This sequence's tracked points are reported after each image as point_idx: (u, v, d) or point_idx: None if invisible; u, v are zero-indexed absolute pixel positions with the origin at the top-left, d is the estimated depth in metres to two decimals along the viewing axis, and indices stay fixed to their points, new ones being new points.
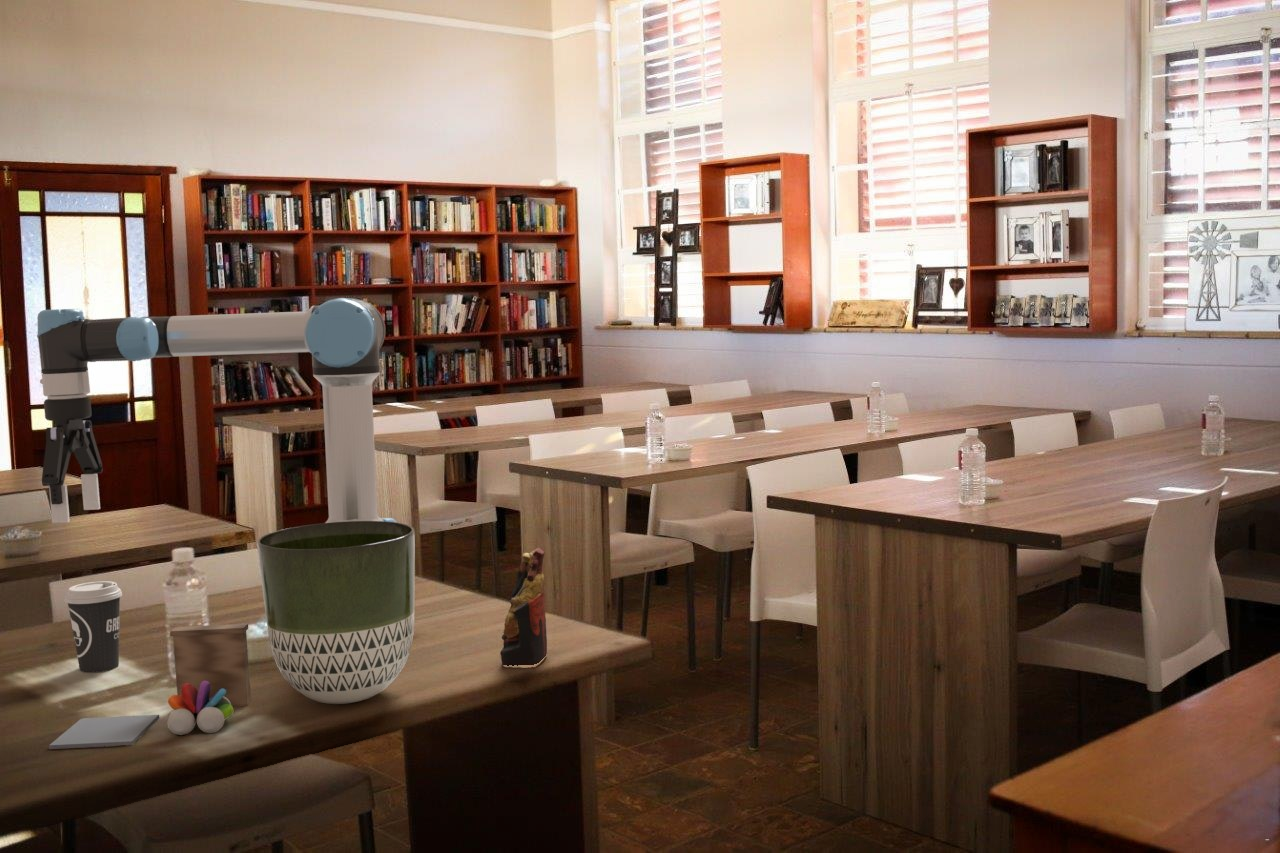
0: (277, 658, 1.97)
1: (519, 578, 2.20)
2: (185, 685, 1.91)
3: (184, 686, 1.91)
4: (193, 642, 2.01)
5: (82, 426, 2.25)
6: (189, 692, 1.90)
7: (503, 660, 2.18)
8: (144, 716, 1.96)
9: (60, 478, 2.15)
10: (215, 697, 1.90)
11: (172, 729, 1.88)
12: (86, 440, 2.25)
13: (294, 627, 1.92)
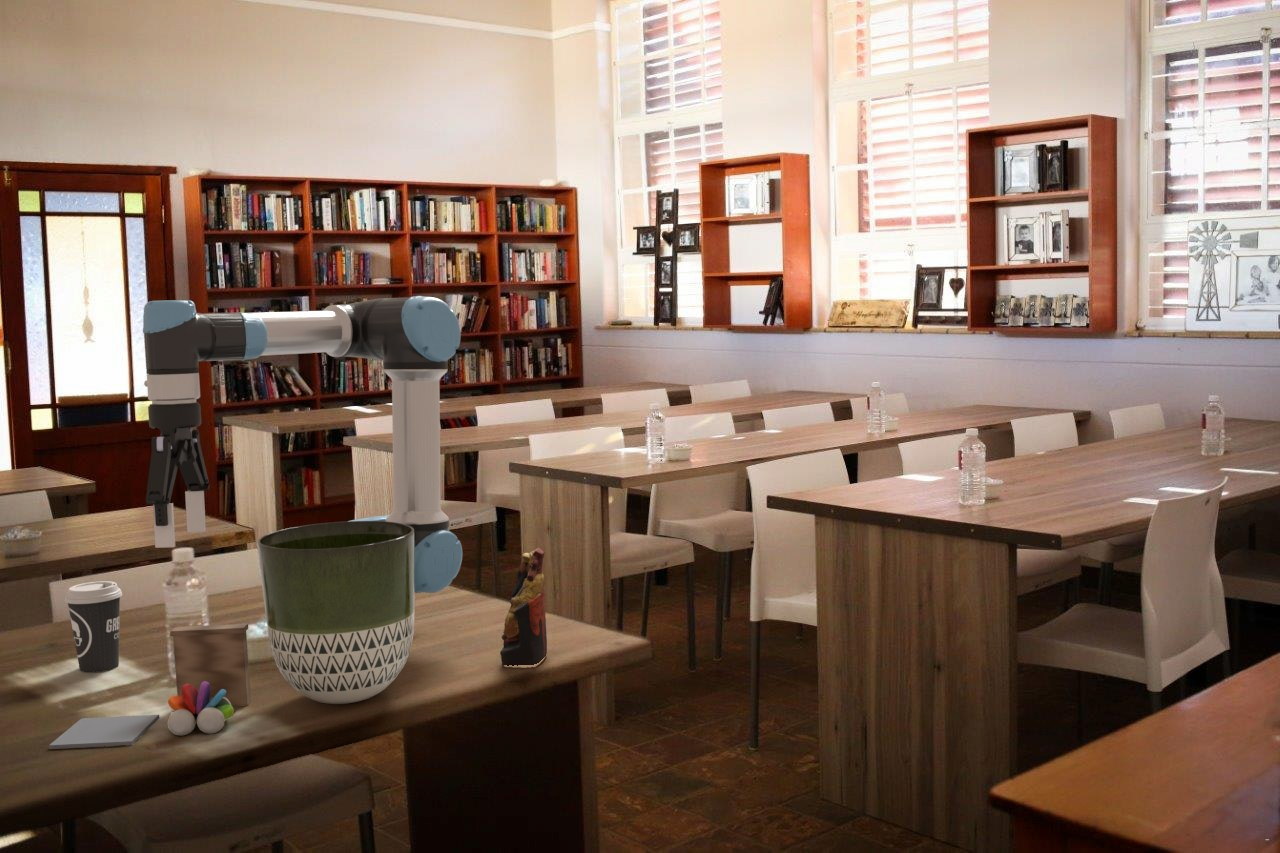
0: (277, 658, 1.97)
1: (519, 578, 2.20)
2: (185, 686, 1.91)
3: (184, 687, 1.90)
4: (193, 642, 2.01)
5: (189, 436, 1.95)
6: (189, 693, 1.90)
7: (503, 660, 2.18)
8: (144, 716, 1.96)
9: (166, 496, 1.85)
10: (215, 698, 1.90)
11: (172, 730, 1.88)
12: (194, 452, 1.95)
13: (294, 627, 1.92)
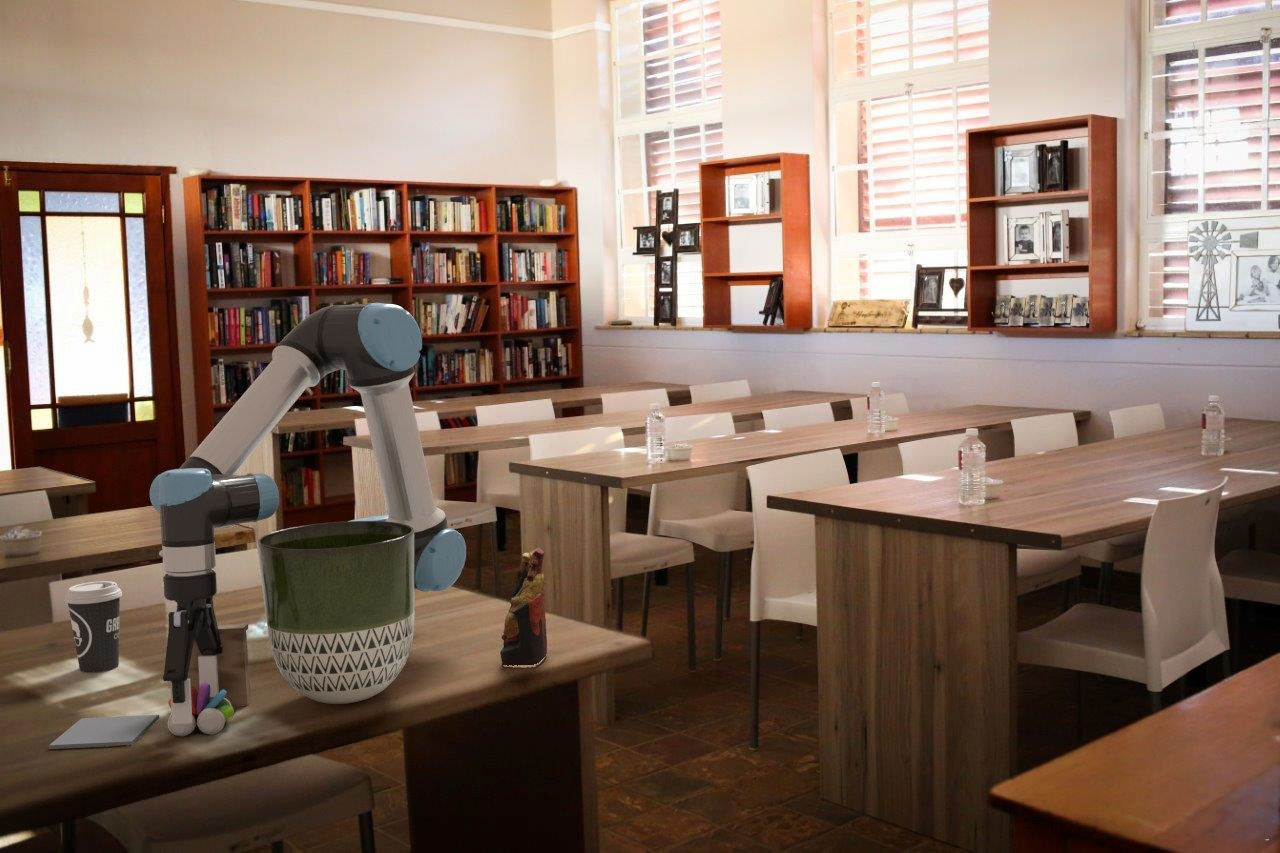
0: (277, 658, 1.97)
1: (519, 578, 2.20)
2: None
3: None
4: None
5: (204, 603, 1.93)
6: None
7: (503, 660, 2.18)
8: (144, 716, 1.96)
9: (184, 672, 1.83)
10: (215, 698, 1.90)
11: (172, 730, 1.87)
12: (208, 620, 1.93)
13: (294, 627, 1.92)
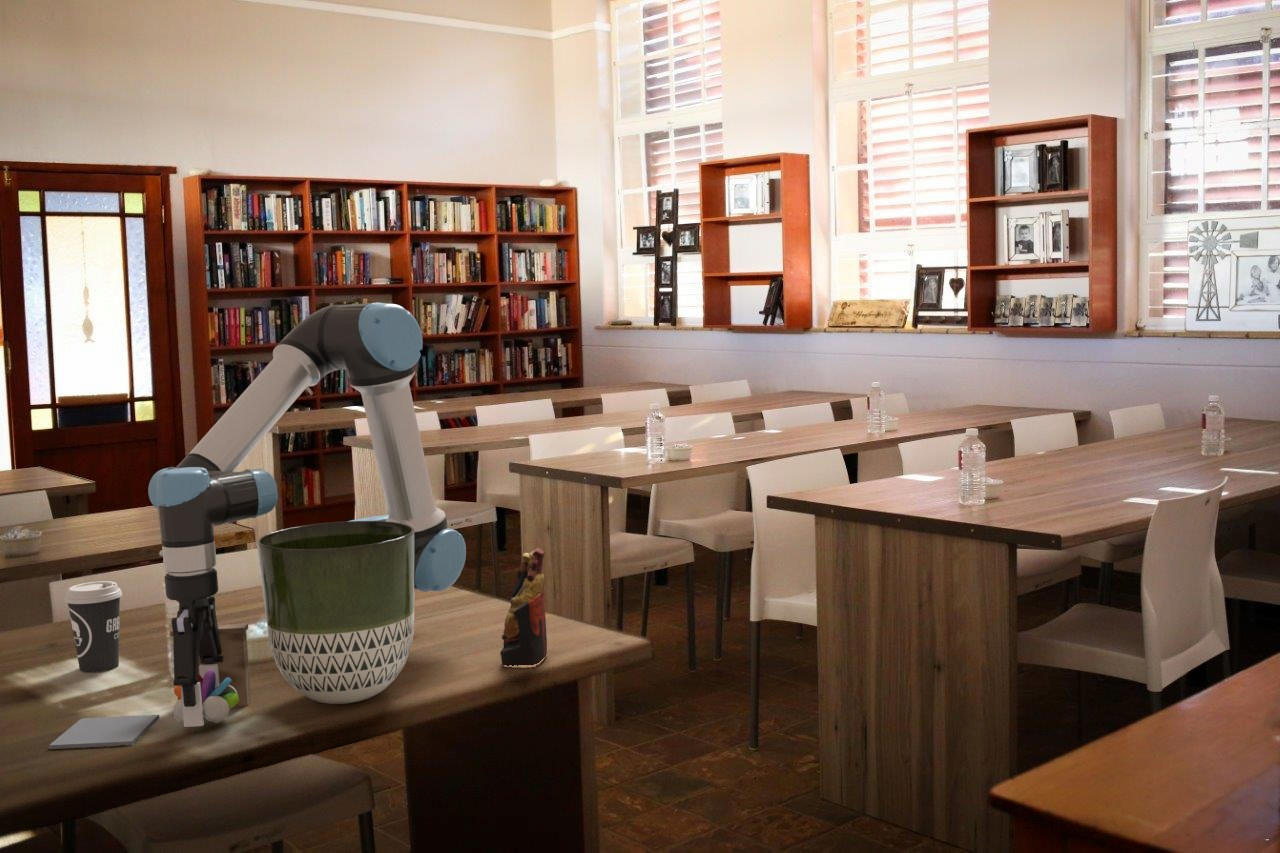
0: (277, 658, 1.97)
1: (519, 578, 2.20)
2: None
3: None
4: None
5: (206, 600, 1.94)
6: None
7: (503, 660, 2.18)
8: (144, 716, 1.96)
9: (194, 678, 1.86)
10: (220, 686, 1.90)
11: (177, 718, 1.88)
12: (210, 620, 1.93)
13: (294, 627, 1.92)
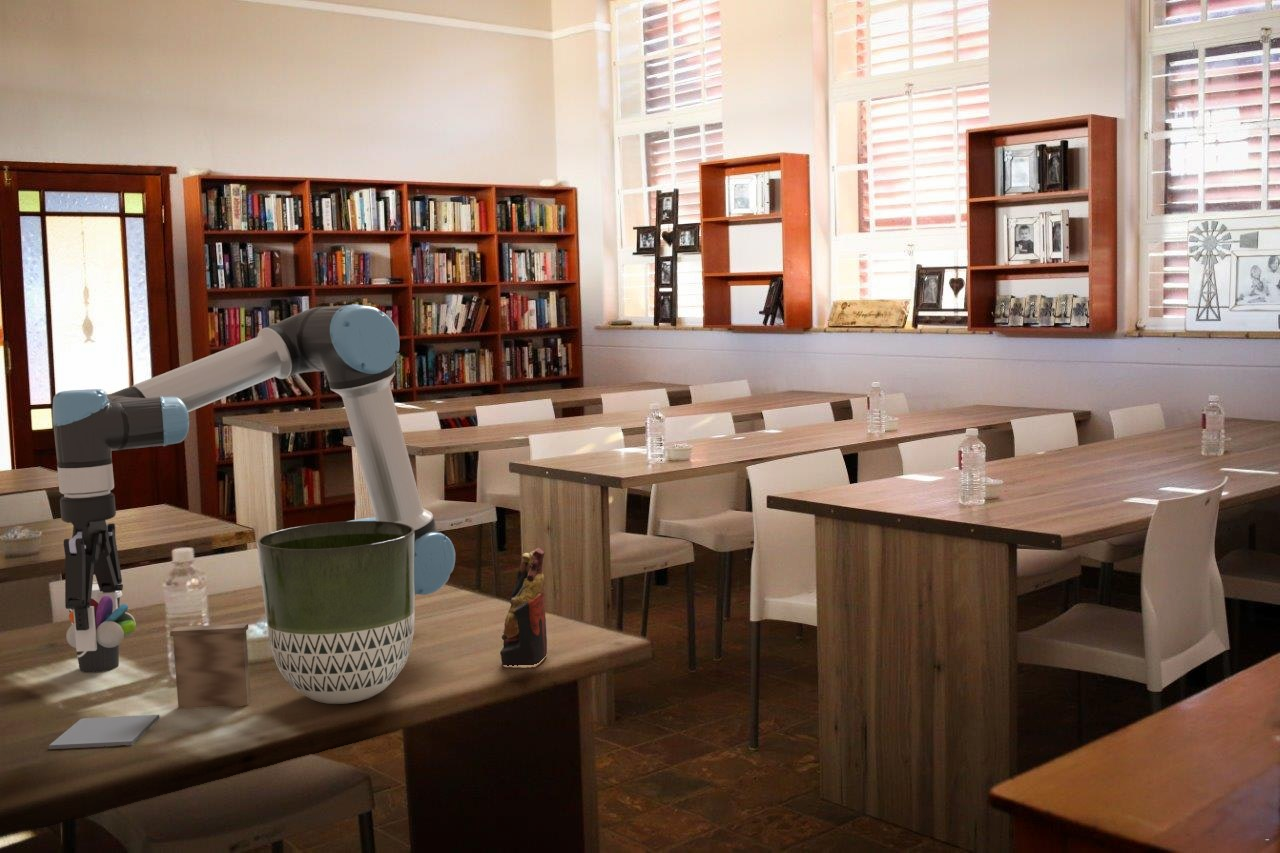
0: (277, 658, 1.97)
1: (519, 578, 2.20)
2: None
3: None
4: (193, 642, 2.01)
5: (104, 526, 1.91)
6: None
7: (503, 660, 2.18)
8: (144, 716, 1.96)
9: (86, 601, 1.83)
10: (115, 612, 1.87)
11: (70, 643, 1.85)
12: (108, 545, 1.90)
13: (294, 627, 1.92)
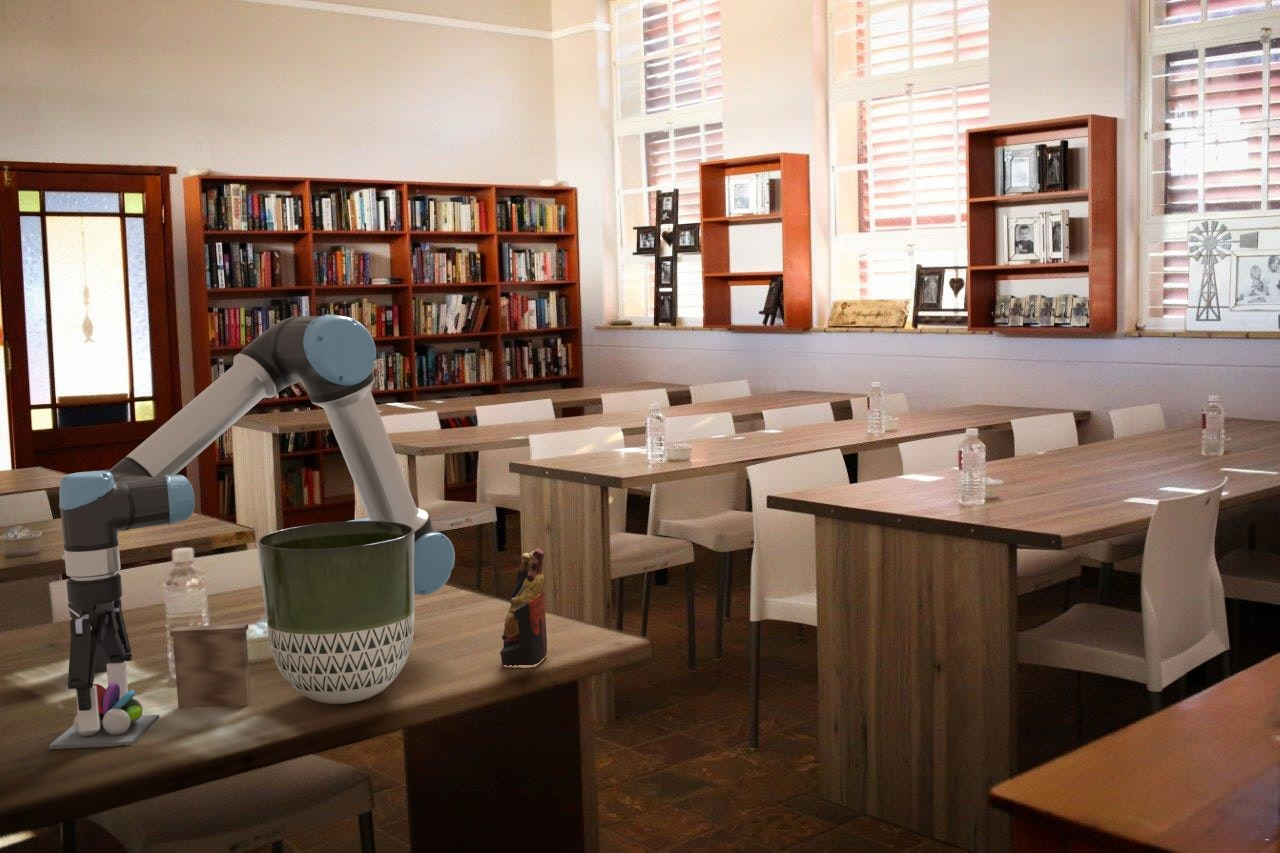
0: (277, 658, 1.97)
1: (519, 578, 2.20)
2: None
3: None
4: (193, 642, 2.01)
5: (111, 606, 1.92)
6: None
7: (503, 660, 2.18)
8: (144, 716, 1.96)
9: (89, 680, 1.83)
10: (122, 699, 1.89)
11: (77, 730, 1.87)
12: (115, 624, 1.92)
13: (294, 627, 1.92)
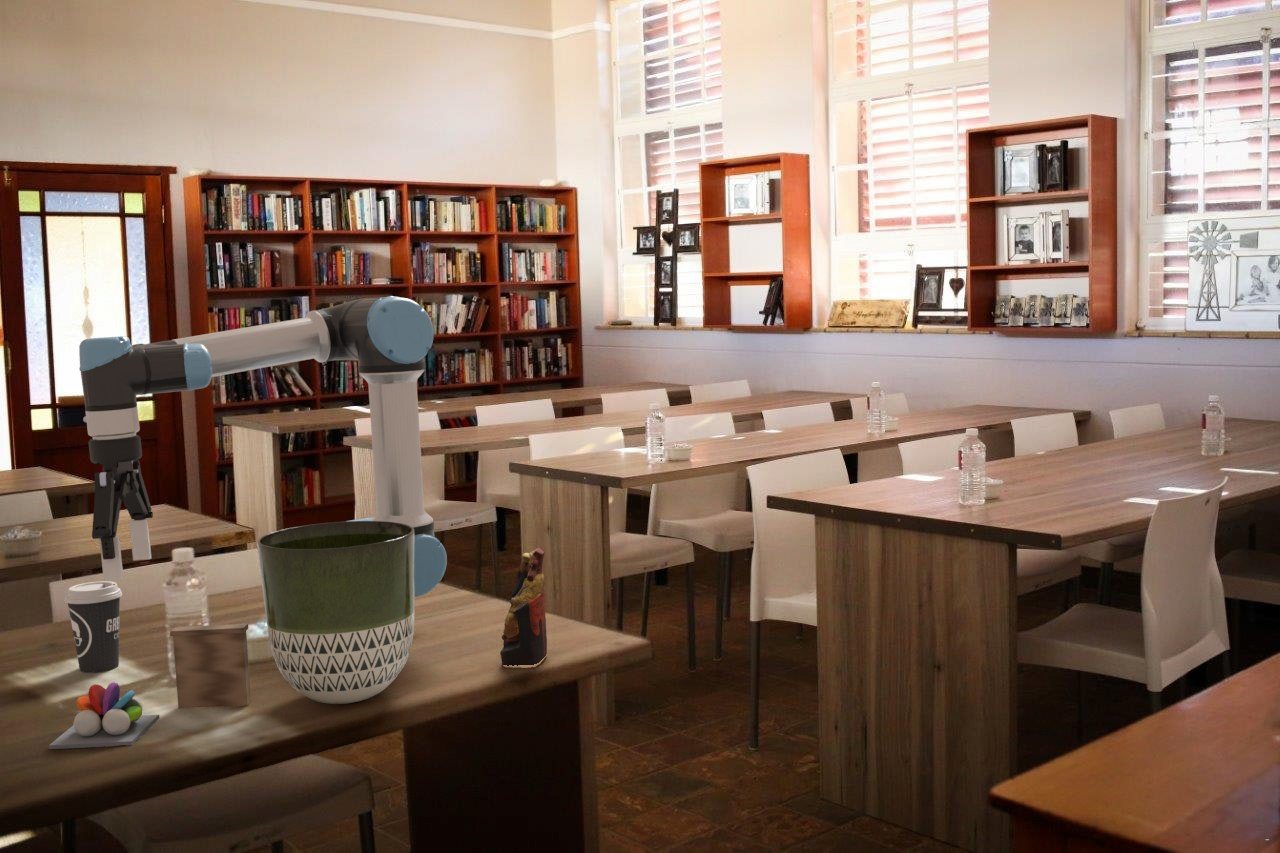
0: (277, 658, 1.97)
1: (519, 578, 2.20)
2: (93, 686, 1.89)
3: (91, 687, 1.89)
4: (193, 642, 2.01)
5: (131, 468, 2.00)
6: (96, 693, 1.89)
7: (503, 660, 2.18)
8: (144, 716, 1.96)
9: (112, 530, 1.90)
10: (121, 699, 1.88)
11: (77, 730, 1.86)
12: (136, 483, 2.00)
13: (294, 627, 1.92)
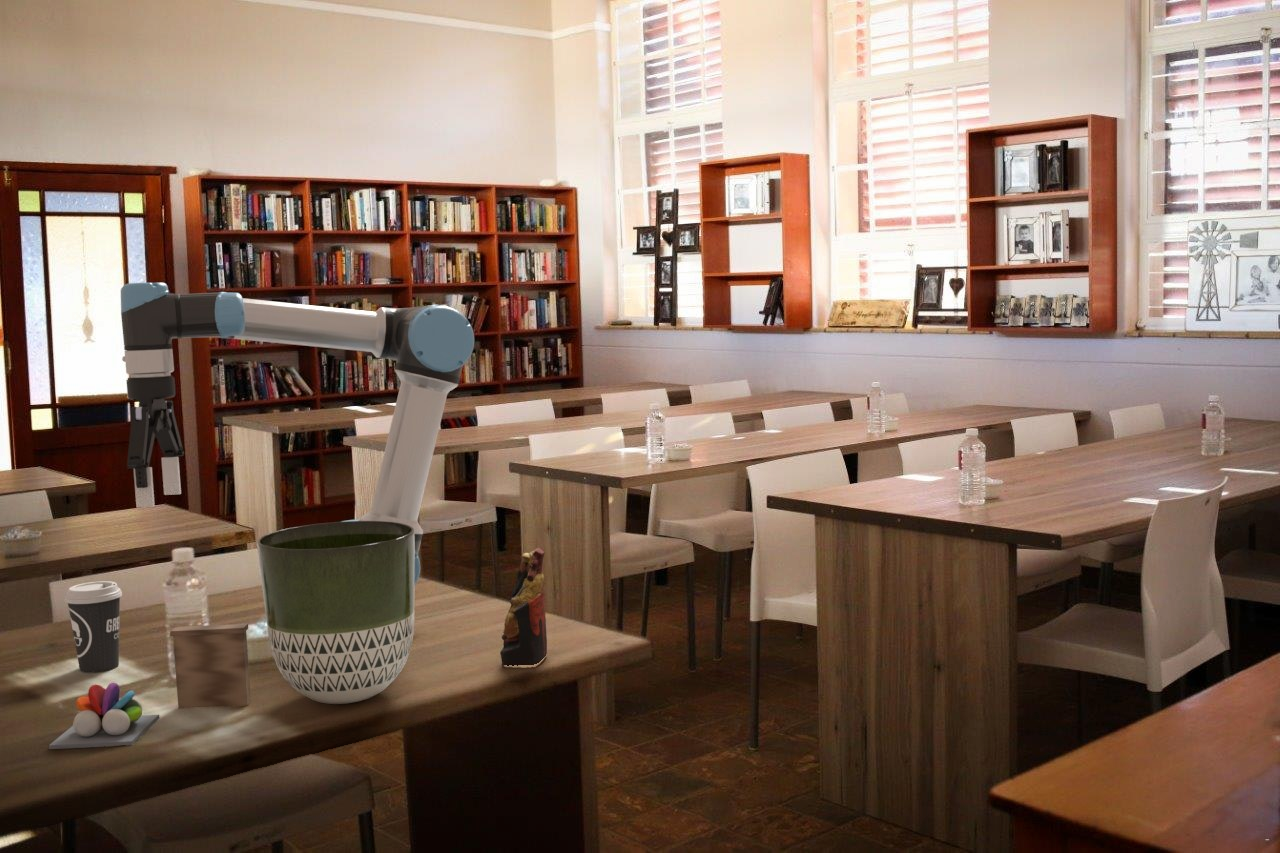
0: (277, 658, 1.97)
1: (519, 578, 2.20)
2: (92, 686, 1.89)
3: (91, 687, 1.89)
4: (193, 642, 2.01)
5: (165, 406, 2.14)
6: (96, 694, 1.89)
7: (503, 660, 2.18)
8: (144, 716, 1.96)
9: (146, 460, 2.04)
10: (121, 699, 1.88)
11: (77, 731, 1.86)
12: (169, 421, 2.14)
13: (294, 627, 1.92)
